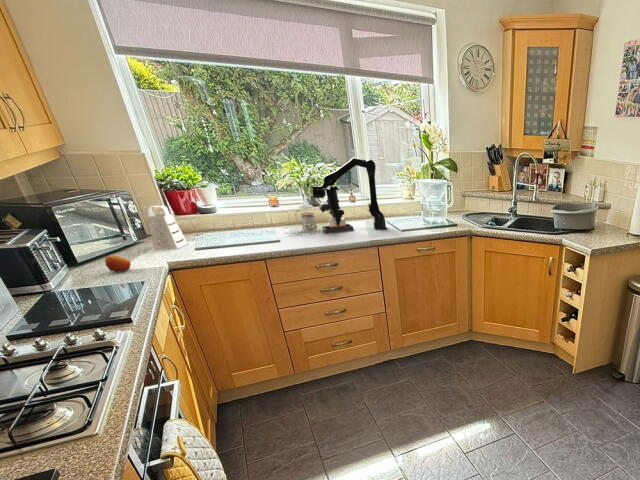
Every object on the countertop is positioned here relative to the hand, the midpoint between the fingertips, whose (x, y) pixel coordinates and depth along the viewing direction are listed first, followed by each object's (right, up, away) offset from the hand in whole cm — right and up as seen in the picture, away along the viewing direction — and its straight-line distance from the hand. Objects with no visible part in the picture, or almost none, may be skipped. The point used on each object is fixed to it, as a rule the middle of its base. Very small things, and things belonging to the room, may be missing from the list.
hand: (337, 224), depth 251 cm
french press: (-18, -3, +1) cm, 18 cm away
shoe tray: (0, -3, +2) cm, 4 cm away
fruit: (-63, -43, -73) cm, 105 cm away
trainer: (0, -1, 0) cm, 1 cm away
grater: (-71, -23, -37) cm, 83 cm away
